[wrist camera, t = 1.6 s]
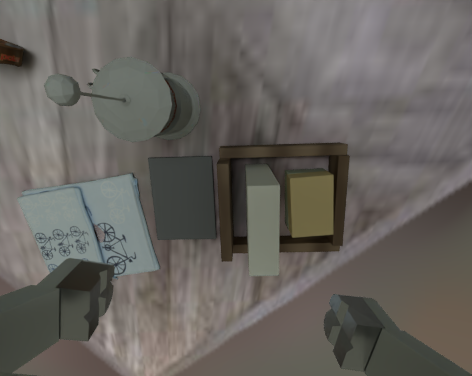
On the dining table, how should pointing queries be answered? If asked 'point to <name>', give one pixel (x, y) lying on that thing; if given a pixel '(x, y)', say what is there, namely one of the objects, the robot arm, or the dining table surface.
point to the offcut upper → (310, 203)
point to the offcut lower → (286, 186)
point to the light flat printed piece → (91, 224)
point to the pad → (183, 197)
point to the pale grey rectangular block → (262, 220)
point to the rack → (334, 150)
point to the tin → (10, 53)
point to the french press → (134, 100)
